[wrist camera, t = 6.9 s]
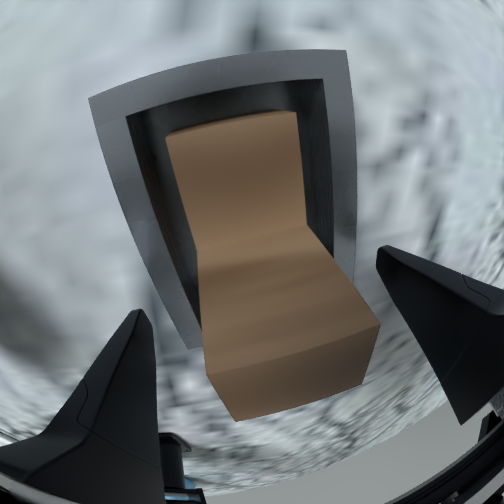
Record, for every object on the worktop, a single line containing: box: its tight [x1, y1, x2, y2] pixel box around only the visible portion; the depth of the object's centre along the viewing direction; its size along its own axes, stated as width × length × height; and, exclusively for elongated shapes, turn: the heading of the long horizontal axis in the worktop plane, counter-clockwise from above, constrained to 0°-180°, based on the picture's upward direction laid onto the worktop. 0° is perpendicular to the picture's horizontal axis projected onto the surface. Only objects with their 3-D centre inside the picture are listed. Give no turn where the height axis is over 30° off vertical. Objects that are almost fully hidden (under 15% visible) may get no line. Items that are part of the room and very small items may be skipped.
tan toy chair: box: [165, 109, 380, 422], centre depth 8 cm, size 7×4×7 cm, turn 9°
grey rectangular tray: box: [88, 49, 357, 349], centre depth 10 cm, size 11×8×2 cm
